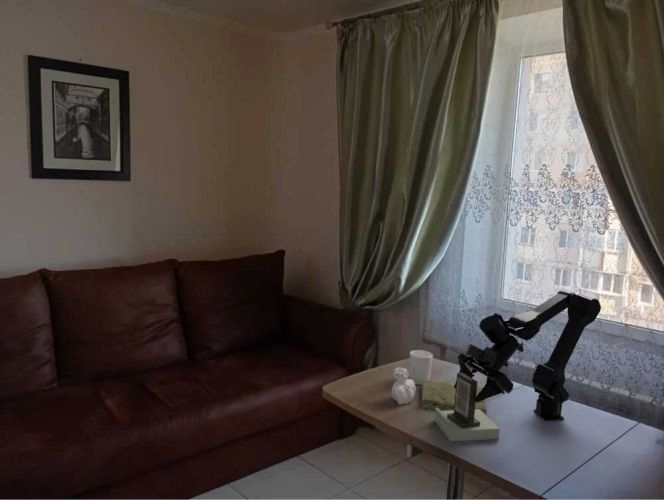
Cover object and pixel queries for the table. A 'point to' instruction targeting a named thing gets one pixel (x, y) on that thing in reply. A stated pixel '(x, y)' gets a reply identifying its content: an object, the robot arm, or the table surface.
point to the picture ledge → (472, 433)
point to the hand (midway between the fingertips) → (465, 394)
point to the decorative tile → (443, 396)
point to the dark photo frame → (464, 402)
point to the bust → (403, 386)
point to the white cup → (420, 366)
